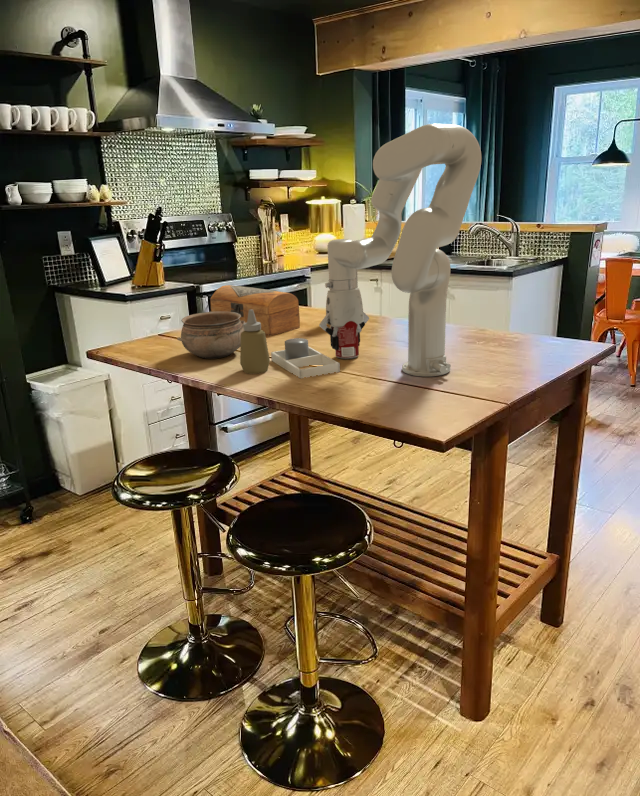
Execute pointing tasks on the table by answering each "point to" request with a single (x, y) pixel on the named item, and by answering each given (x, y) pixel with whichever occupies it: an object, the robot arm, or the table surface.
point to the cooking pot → (212, 334)
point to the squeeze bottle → (253, 347)
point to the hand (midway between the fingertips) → (345, 346)
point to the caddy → (303, 359)
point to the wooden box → (259, 307)
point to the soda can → (348, 341)
